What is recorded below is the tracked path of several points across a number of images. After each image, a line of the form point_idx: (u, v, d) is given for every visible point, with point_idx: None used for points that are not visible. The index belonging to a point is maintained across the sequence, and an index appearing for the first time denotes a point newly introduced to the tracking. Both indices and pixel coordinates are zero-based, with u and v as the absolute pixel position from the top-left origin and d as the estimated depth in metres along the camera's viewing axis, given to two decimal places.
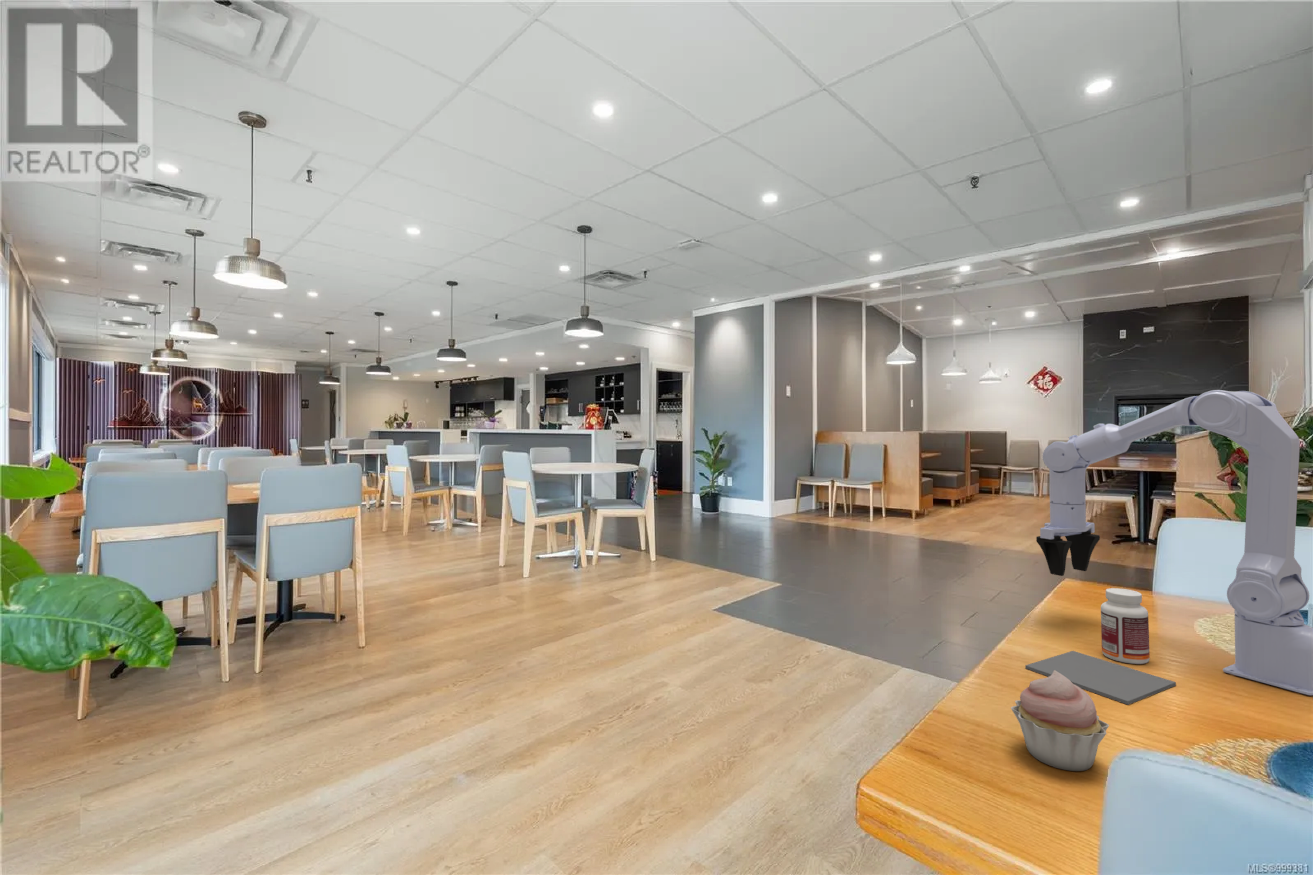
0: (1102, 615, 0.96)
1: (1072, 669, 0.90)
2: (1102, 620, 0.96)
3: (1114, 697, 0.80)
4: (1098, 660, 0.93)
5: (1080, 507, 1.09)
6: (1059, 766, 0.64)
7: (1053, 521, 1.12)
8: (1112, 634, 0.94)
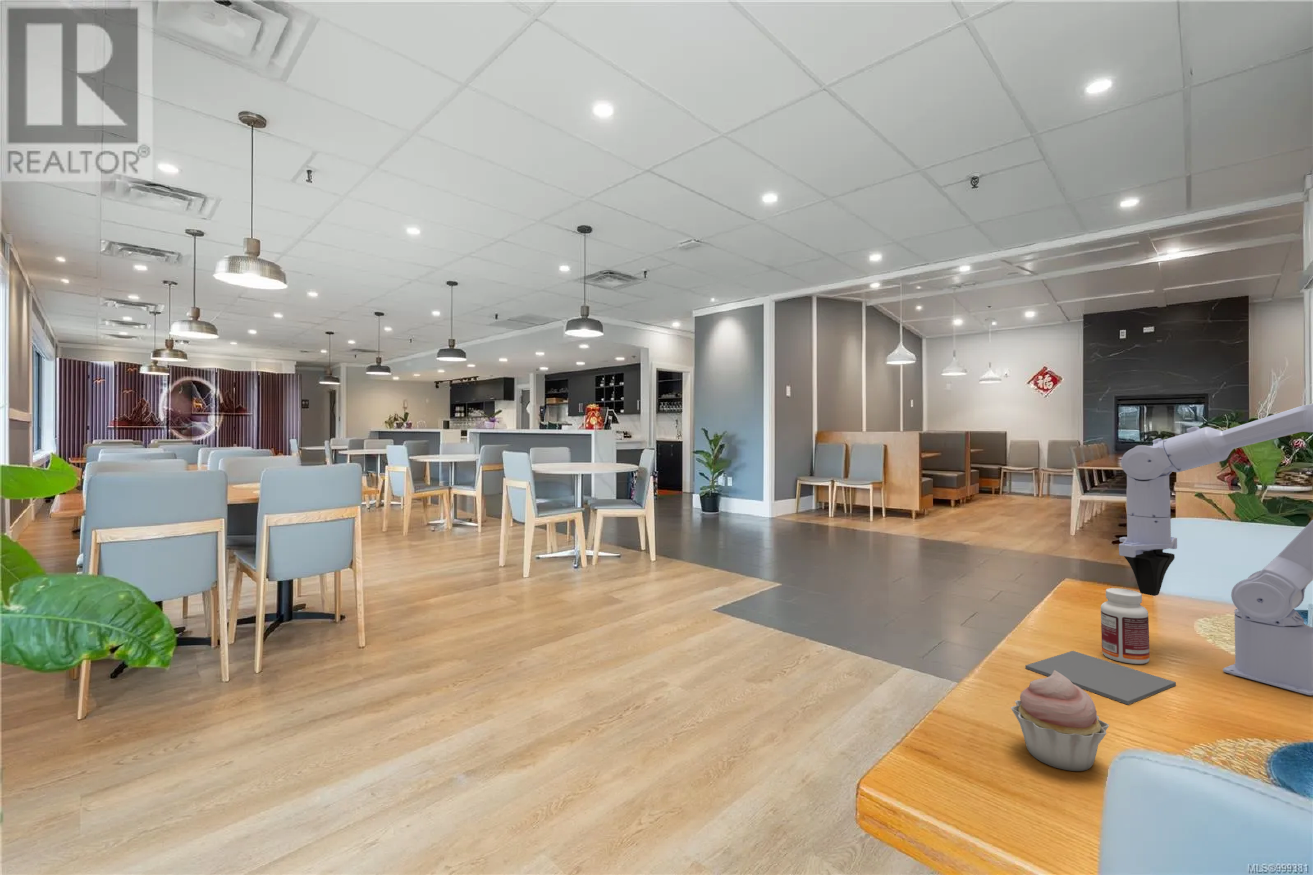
0: (1102, 615, 0.96)
1: (1072, 669, 0.90)
2: (1102, 620, 0.96)
3: (1114, 697, 0.80)
4: (1098, 660, 0.93)
5: (1165, 520, 0.96)
6: (1059, 766, 0.64)
7: (1132, 536, 0.98)
8: (1112, 634, 0.94)
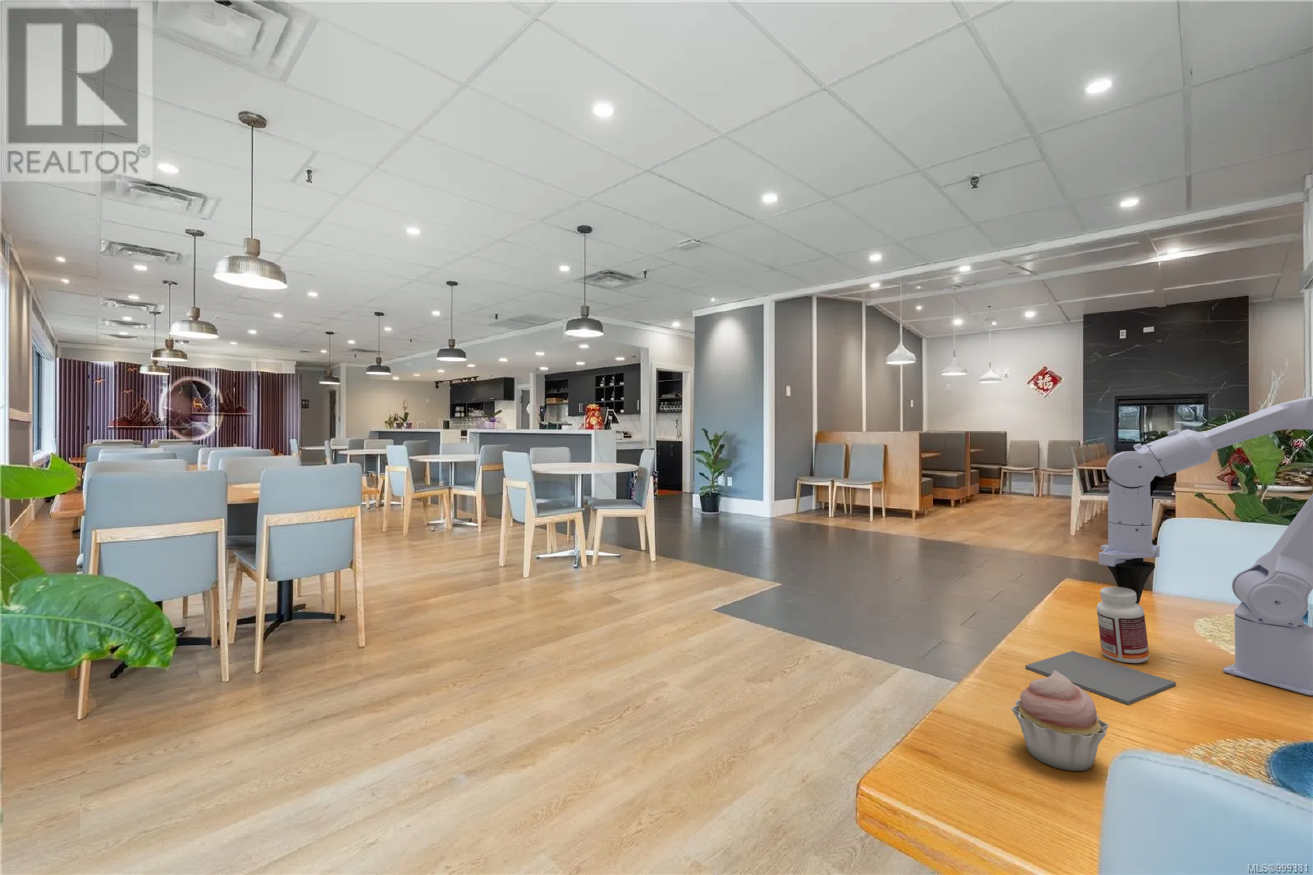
0: (1099, 616, 0.96)
1: (1072, 669, 0.90)
2: (1099, 621, 0.96)
3: (1114, 697, 0.80)
4: (1098, 660, 0.93)
5: (1146, 528, 0.93)
6: (1059, 766, 0.64)
7: (1113, 544, 0.96)
8: (1110, 635, 0.94)
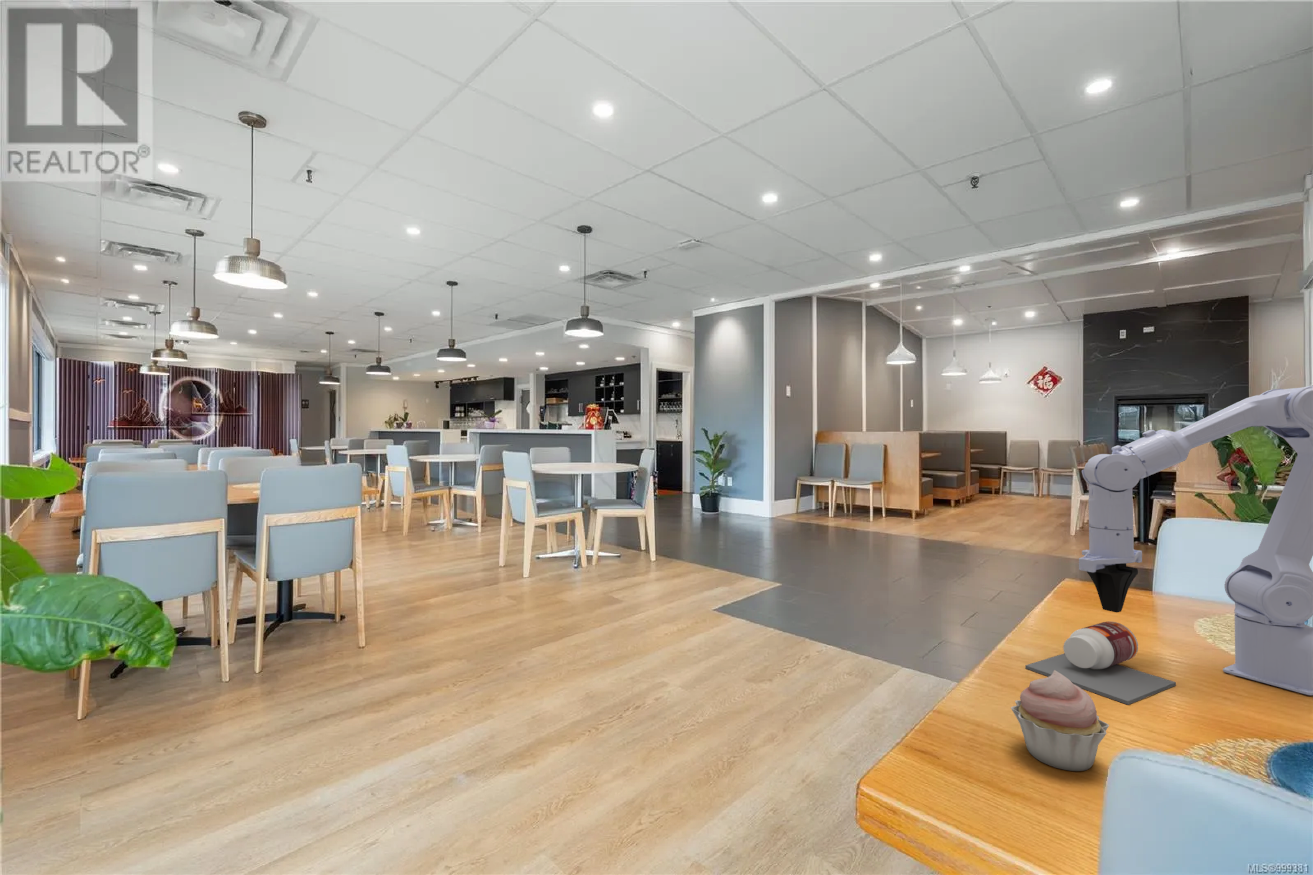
0: None
1: (1072, 669, 0.90)
2: None
3: (1114, 697, 0.80)
4: None
5: (1127, 533, 0.91)
6: (1059, 766, 0.64)
7: (1094, 549, 0.93)
8: None
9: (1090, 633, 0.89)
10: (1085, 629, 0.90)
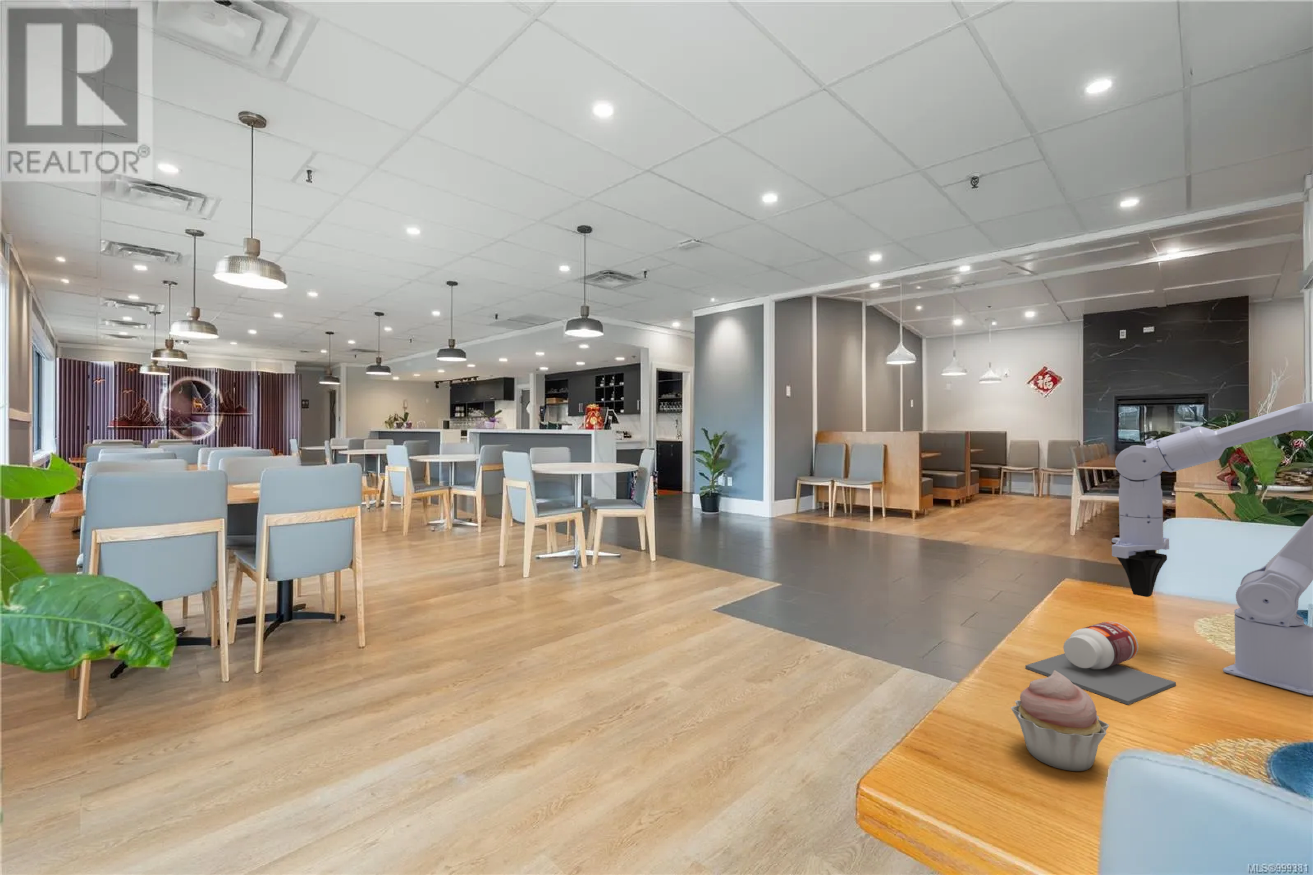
0: None
1: (1072, 669, 0.90)
2: None
3: (1114, 697, 0.80)
4: None
5: (1157, 521, 0.95)
6: (1059, 766, 0.64)
7: (1125, 537, 0.98)
8: None
9: (1091, 633, 0.89)
10: (1085, 629, 0.90)
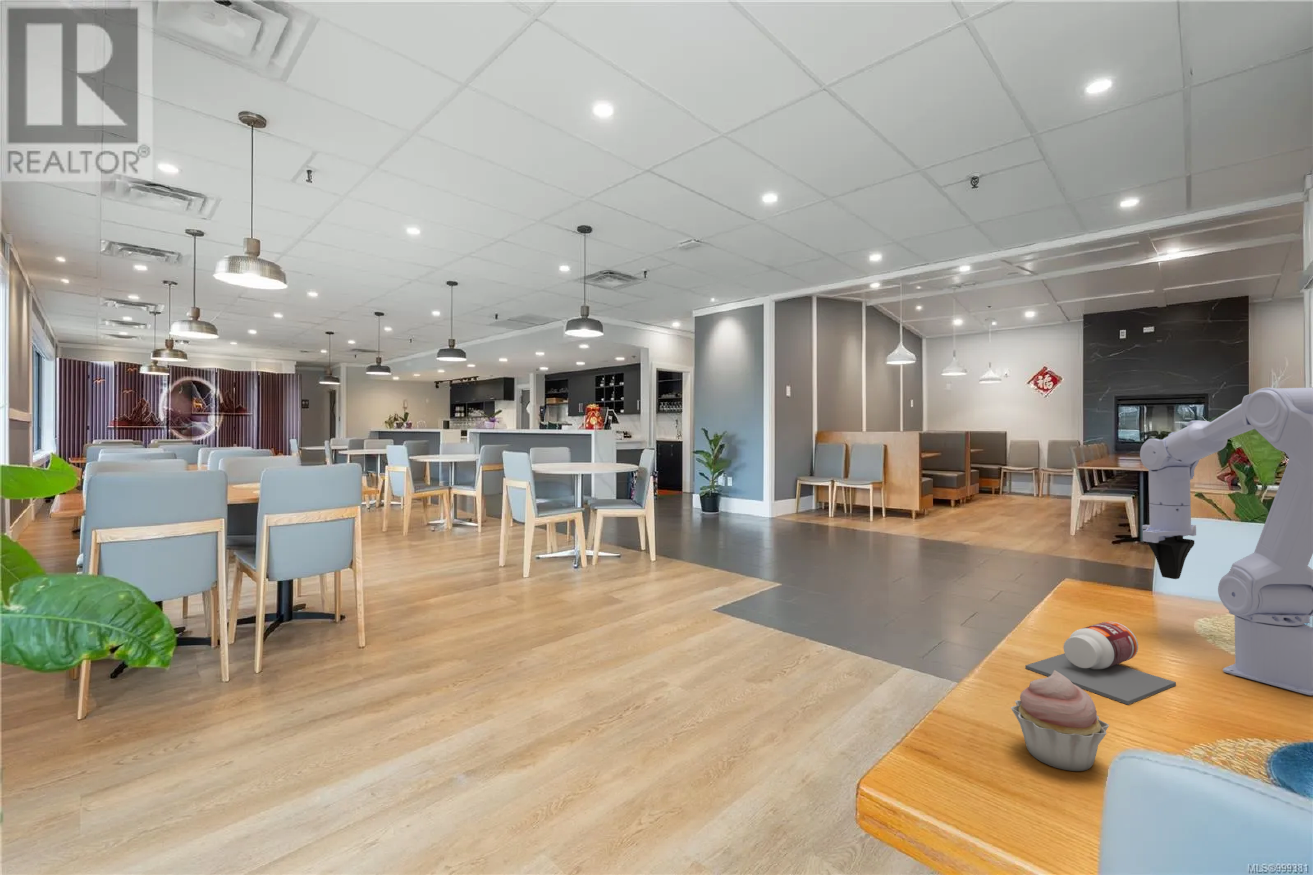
0: None
1: (1072, 669, 0.90)
2: None
3: (1114, 697, 0.80)
4: None
5: (1186, 508, 1.03)
6: (1059, 766, 0.64)
7: (1155, 523, 1.05)
8: None
9: (1091, 633, 0.89)
10: (1085, 629, 0.90)
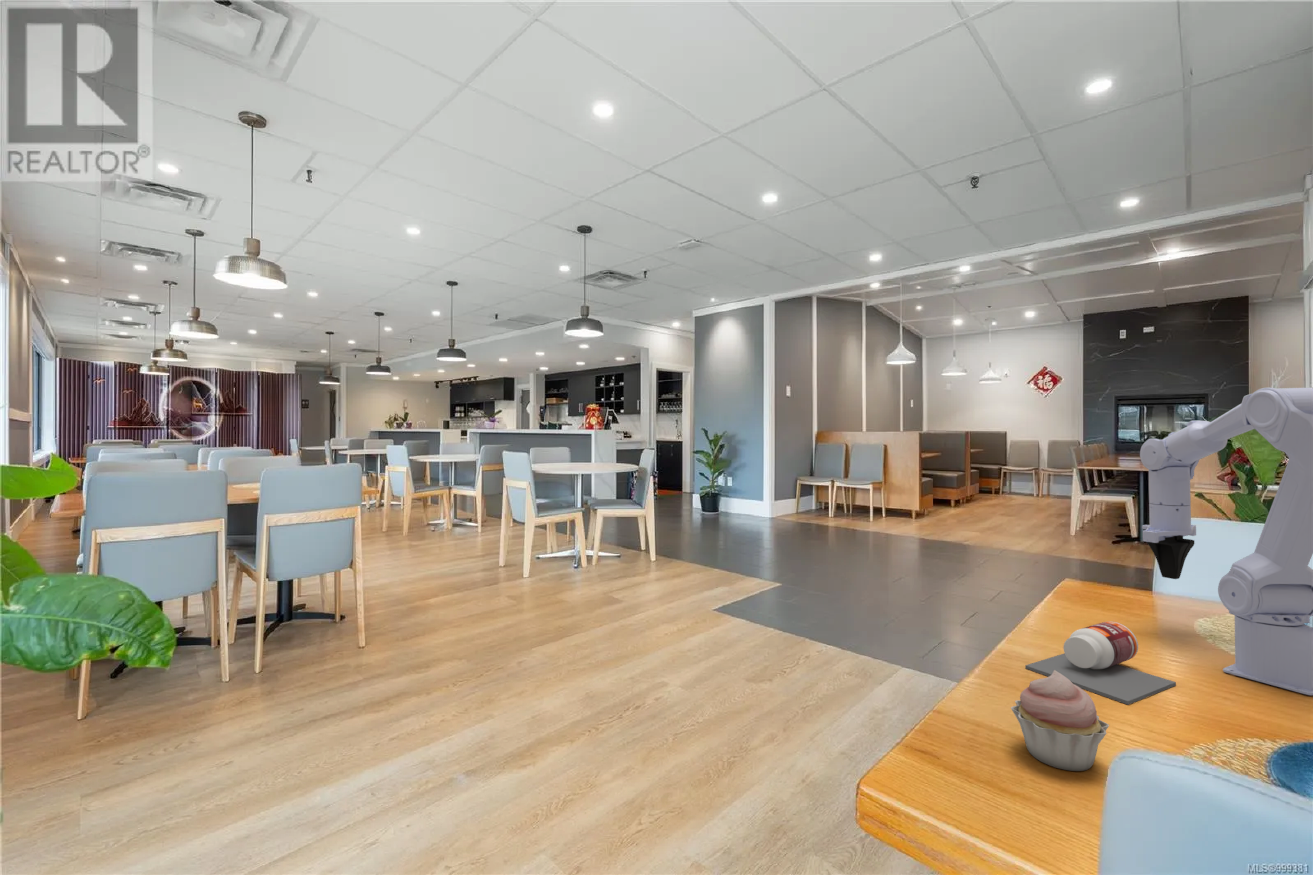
0: None
1: (1072, 669, 0.90)
2: None
3: (1114, 697, 0.80)
4: None
5: (1186, 508, 1.03)
6: (1059, 766, 0.64)
7: (1155, 523, 1.05)
8: None
9: (1091, 633, 0.89)
10: (1085, 629, 0.90)
